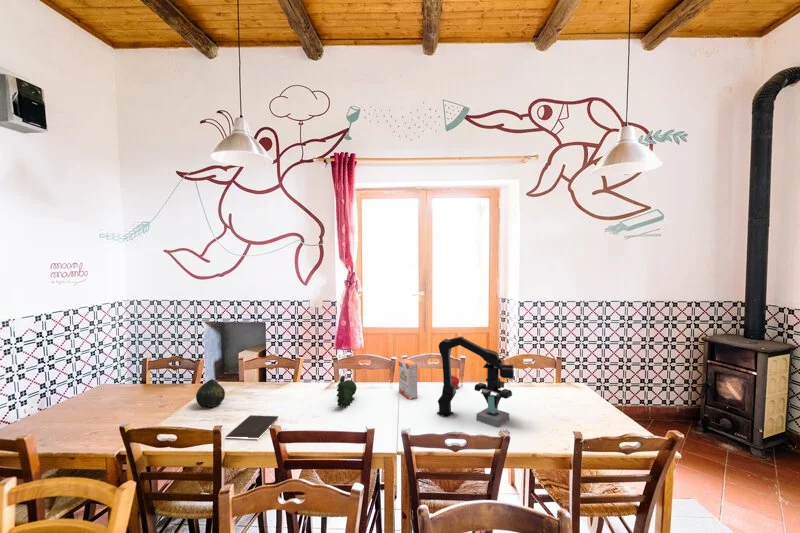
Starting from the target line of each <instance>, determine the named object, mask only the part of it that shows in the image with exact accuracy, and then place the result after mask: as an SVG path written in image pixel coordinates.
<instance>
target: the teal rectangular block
mask: <svg viewBox="0 0 800 533" xmlns="http://www.w3.org/2000/svg"><path fill="white" fill-rule="evenodd" d="M494 396H496V395H494V394H490V396H488V404H487V408H488V412H490V413H493V414H495V413H496V412H498V410H499V409H498V407H499V405H498V406H497V408H495V400H494Z"/></svg>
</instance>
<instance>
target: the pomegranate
mask: <svg viewBox="0 0 800 533" xmlns="http://www.w3.org/2000/svg"><path fill="white" fill-rule="evenodd" d="M451 378H452V384H453V386H454V385H456V388H455V389H457V388H458V386H459V383H460V379H459V378H458V377H457V376H455V375H454V374H451ZM442 384H444V379H443V380H442Z"/></svg>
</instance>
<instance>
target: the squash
mask: <svg viewBox="0 0 800 533" xmlns="http://www.w3.org/2000/svg"><path fill="white" fill-rule="evenodd" d="M225 397H226V391H225V389H224V387H223V386H222V385H220V384H219V383H218V382H217V381H216V379H213V378H211V379H209V380H208V381H206V382H205V383H204V384H202V385H201V386H200V387H199V389H198V390H197V392H196V394H195V400H196V402H197V404H198V405H199V406H200V407H208V408H210V407H212V408H214V407H216V406H215V405H218V406H219V405H220V404H222V402H223V401H224V400H225ZM213 406H214V407H213Z"/></svg>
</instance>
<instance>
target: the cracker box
mask: <svg viewBox="0 0 800 533" xmlns="http://www.w3.org/2000/svg"><path fill="white" fill-rule="evenodd" d="M398 391H399V392H398V393H400V394H401V395H402V394H403V395H402V396H404V397H405V398H406V397H407V398H406V399H407V400H409V399H410V400H414V399H413V398H415V399H418V364H417V363H416V362H414V361H412V360H411V359H408V357H407V358H401V359H400V358H399V359H398Z"/></svg>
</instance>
